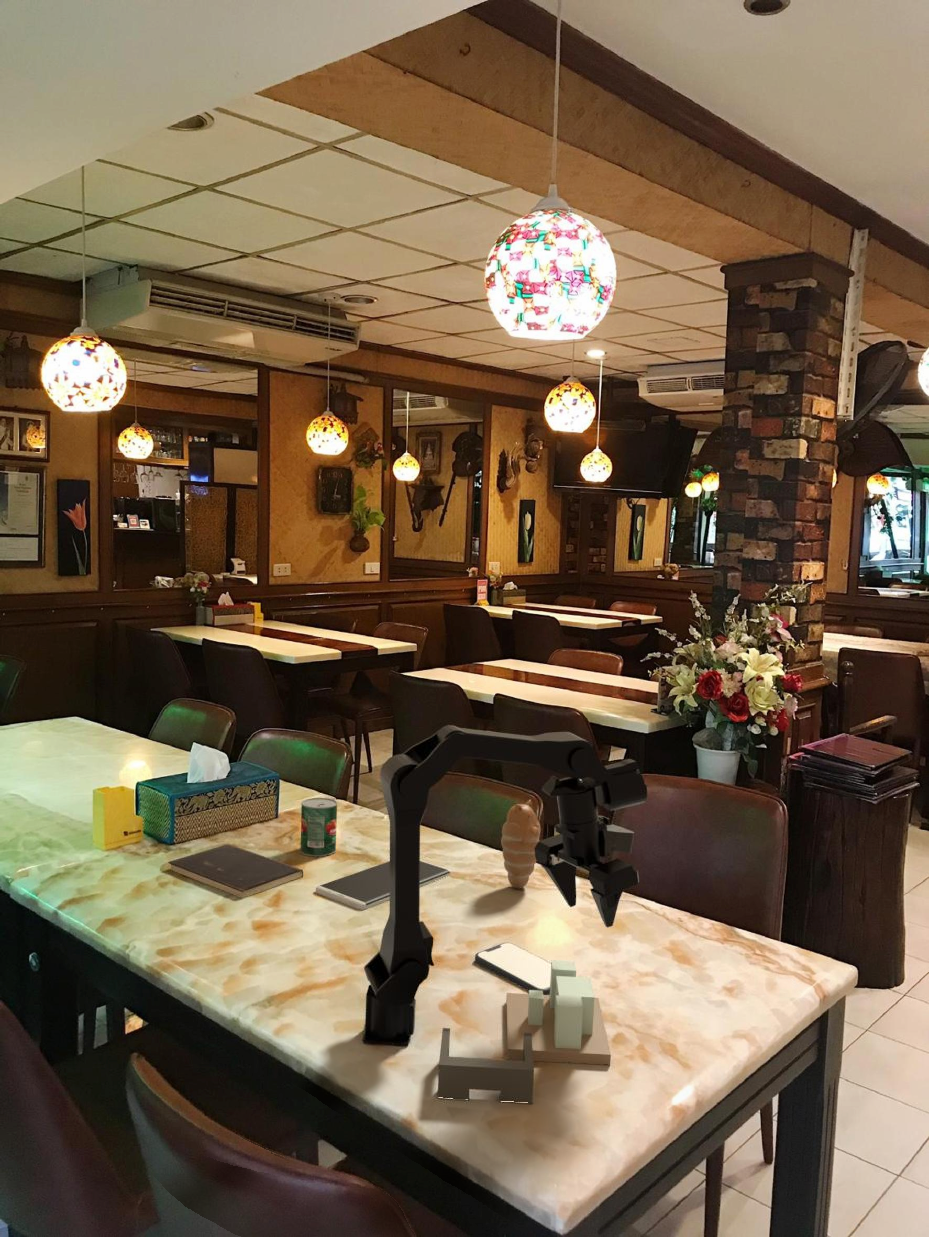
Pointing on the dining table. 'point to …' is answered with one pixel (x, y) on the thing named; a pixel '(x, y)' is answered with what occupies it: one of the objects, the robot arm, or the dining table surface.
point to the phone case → (517, 966)
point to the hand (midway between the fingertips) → (590, 915)
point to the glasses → (486, 1074)
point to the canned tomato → (318, 827)
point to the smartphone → (373, 885)
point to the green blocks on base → (558, 1020)
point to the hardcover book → (235, 870)
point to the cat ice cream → (520, 843)
